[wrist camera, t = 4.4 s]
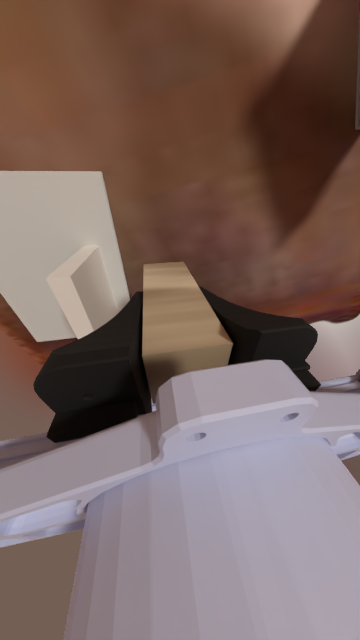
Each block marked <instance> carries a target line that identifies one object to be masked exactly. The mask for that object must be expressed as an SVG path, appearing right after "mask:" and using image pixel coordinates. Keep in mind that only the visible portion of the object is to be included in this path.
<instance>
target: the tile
mask: <svg viewBox="0 0 360 640" xmlns="http://www.w3.org/2000/svg"><path fill="white" fill-rule="evenodd" d="M46 280H47V282H48V284H49V286H50V288H51V290H52V291H53V293H54V295H55V297H56V299H57V301H58V303H59V305H60V306H61V308H62V310H63V312H64V314H65V316H66V318H67V320H68V321H69V323H70V325H71V327H72V329H73V331H74V333H75V335H76V337H77V338H78V339H80V338H82V337H84V336H86V335H88V334H90V333H91V332H93V331H95V330H96V329H98V328H99V327H101V326H103V325H104V324H106V323H107V322H108V321H110V320H111V319H112V318H113V317H115V316H116V315H117V313H118V310H117V307H116V303H115V300H114V297H113V293H112V290H111V286H110V283H109V279H108V276H107V272H106V269H105V265H104V262H103V258H102V255H101V252H100V248H99V245H97V246H83V247H82V248H81V249H80V250H79V251H77V252H76V253H75V254H74V255H73V256H71V257H70V258H69V259H68V260H67V261H65V262H64V263H63V264H62V265H61V266H59V267H58V268H57V269H56V270H55V271H54V272H52V273H51V274H50V275H49V276H48V277H46Z"/></svg>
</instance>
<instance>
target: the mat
mask: <svg viewBox="0 0 360 640" xmlns="http://www.w3.org/2000/svg"><path fill="white" fill-rule="evenodd" d="M97 245H99V248H100V252H101V255H102V258H103V262H104V265H105V269H106V272H107V276H108V279H109V283H110V286H111V290H112V293H113V297H114V300H115V303H116V307H117V310H118V313H119V312H120V311H121V310H122V309H123V308H124V307H125V306H126V304H127V303H128V302H129V301H130V296H129V292H128V287H127V282H126V278H125V273H124V269H123V264H122V260H121V255H120V251H119V246H118V242H117V237H116V233H115V228H114V224H113V219H112V215H111V210H110V206H109V201H108V197H107V192H106V188H105V183H104V179H103V174H102V172H89V171H0V293H1V294H2V296H3V297H4V298H5V300H6V301H7V302H8V304H9V305H10V306H11V308H12V309H13V310H14V312H15V313H16V314H17V316H18V317H19V318H20V320H21V321H22V322H23V324H24V325H25V326H26V328H27V329H28V330H29V332H30V333H31V334H32V336H33V337H34V338H35V340H36V341H37V342H42V341H51V340H59V339H68V338H76V335H75V333H74V331H73V329H72V327H71V325H70V323H69V321H68V320H67V318H66V316H65V314H64V312H63V310H62V308H61V306H60V305H59V303H58V301H57V299H56V297H55V295H54V293H53V291H52V290H51V288H50V286H49V284H48V282H47V280H46V277H48V276H49V275H50V274H51V273H52V272H54V271H55V270H56V269H57V268H58V267H59V266H61V265H62V264H63V263H64V262H65V261H67V260H68V259H69V258H70V257H71V256H73V255H74V254H75V253H76V252H77V251H79V250H80V249H81V248H82V247H83V246H97ZM118 313H117V314H118Z"/></svg>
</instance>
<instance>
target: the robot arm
mask: <svg viewBox="0 0 360 640" xmlns="http://www.w3.org/2000/svg"><path fill="white" fill-rule="evenodd" d="M198 287H199V288H200V290H201V292H202V293H203V295H204V296H205V298H206V300H207V301H208V303H209V305H210V306H211V308H212V310H213V311H214V313H215V315H216V316H217V318H218V319H219V321H220V323H221V324H222V326H223V328H224V329H225V331H226V333H227V334H228V336H229V338H230V339H231V341H232V342H233V346H232V350H231V354H230V358H229V362H228V365H225V366H219V367H213V368H206V369H200V370H194V371H188V372H185V373H182V374H179V375H176V376H173V377H171V378H170V379H169V380H168V381H166V382H165V383H164V384H163V385H161V386H160V387H159V388H158V392H157V395H156V403H155V404H153V402H152V398H151V393H150V389H149V384H148V380H147V375H146V371H145V366H144V362H143V357H142V337H143V291H142V292H136V293H135V294H134V296H133V297H132V298H131V299H130V301H129V302H128V303H127V304H126V306H125V307H124V308H123V309H122V310H121V311H120V312H119V313H118V314H117V315H116V316H115V317H113V318H112V319H111V320H110V321H108V322H107V323H106V324H104V325H103V326H101V327H99V328H98V329H96V330H95V331H93V332H91V333H90V334H88V335H86V336H84V337H82V338H80V339H78V340H76V341H74V342H72V343H69V344H67V345H65V346H63V347H60V348H58V349H55V350H53V351H52V353H51V354H50V356H49V357H48V359H47V361H46V362H45V364H44V366H43V367H42V369H41V371H40V372H39V374H38V376H37V377H36V380H35V382H34V390H35V392H36V393H37V395H38V396H39V397H40V398H41V399H42V400H43V401H44V402H45V403H46V404H47V405H48V406H49V407H50V408H51V409H52V410H53V411H54V412H55V413H56V414H55V417H54V419H53V421H52V424H51V426H50V429H49V431H48V432H46V433H41V434H35V435H30V436H24V437H19V438H14V439H8V440H3V441H0V548H1V547H5V546H9V545H14V544H18V543H23V542H27V541H32V540H37V539H41V538H46V537H50V536H54V535H59V534H63V533H68V532H72V531H77V530H82V529H84V530H83V536H82V541H81V546H80V552H79V557H78V563H77V568H76V574H75V579H74V585H73V590H72V596H71V601H70V607H69V612H68V618H67V623H66V628H65V634H64V639H63V640H360V486H359V484H358V483H357V482H356V480H355V479H354V478H353V476H352V475H351V474H350V472H349V471H348V470H347V468H346V467H345V466H344V464H343V463H342V462H341V460H343V459H346V458H350V457H353V456H357V455H359V454H360V370H359V371H358V372H357V373H356V375H353V376H348V377H342V378H337V379H332V380H326V381H321V382H318V381H317V380H316V379H315V377H313V375H312V374H311V373H310V372H309V371H308V370H309V369H310V365H308V363H307V362H305V359H306V358H307V356H308V355H309V353H310V352H311V351H312V349H313V347H314V345H315V344H316V342H317V336H318V334H317V331H316V330H315V329H314V328H313V327H312V326H310V325H309V324H308V323H307V322H305V321H304V320H303V319H300V318H292V317H284V316H277V315H272V314H266V313H262V312H258V311H254V310H250V309H247V308H244V307H241V306H238V305H235V304H233V303H231V302H228V301H226V300H224V299H222V298H220V297H218V296H216V295H214V294H213V293H211V292H209V291H207V290H206V289H204V288H202V287H200V286H198Z"/></svg>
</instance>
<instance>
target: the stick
mask: <svg viewBox="0 0 360 640" xmlns="http://www.w3.org/2000/svg"><path fill="white" fill-rule="evenodd" d="M232 346H233V342H232V341H231V339H230V338H229V336H228V334H227V333H226V331H225V329H224V328H223V326H222V324H221V323H220V321H219V319H218V318H217V316H216V315H215V313H214V311H213V310H212V308H211V306H210V305H209V303H208V301H207V300H206V298H205V296H204V295H203V293H202V292H201V290H200V288H199V287H198V285H197V283H196V282H195V280H194V278H193V277H192V275H191V273H190V272H189V270H188V269H187V267H186V265H185V264H184V262H172V263H157V264H144V283H143V337H142V357H143V362H144V366H145V371H146V375H147V380H148V384H149V389H150V393H151V398H152V402H153V404H155V403H156V395H157V392H158V388H159V387H160V386H161V385H163V384H164V383H165V382H166V381H168V380H169V379H170V378H171V377H173V376H176V375H179V374H182V373H185V372H188V371H194V370H200V369H206V368H213V367H219V366H225V365H228V362H229V358H230V354H231V350H232Z"/></svg>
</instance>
